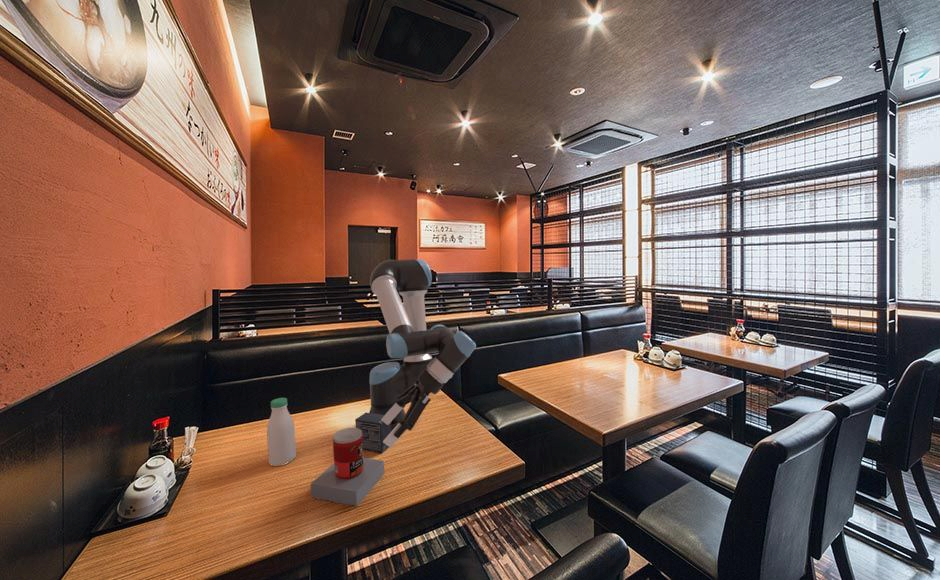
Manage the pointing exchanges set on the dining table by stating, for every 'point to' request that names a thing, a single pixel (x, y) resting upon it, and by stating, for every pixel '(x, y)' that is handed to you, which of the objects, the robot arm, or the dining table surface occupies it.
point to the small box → (373, 431)
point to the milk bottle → (280, 434)
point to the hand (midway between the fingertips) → (385, 432)
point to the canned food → (348, 453)
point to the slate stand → (347, 484)
